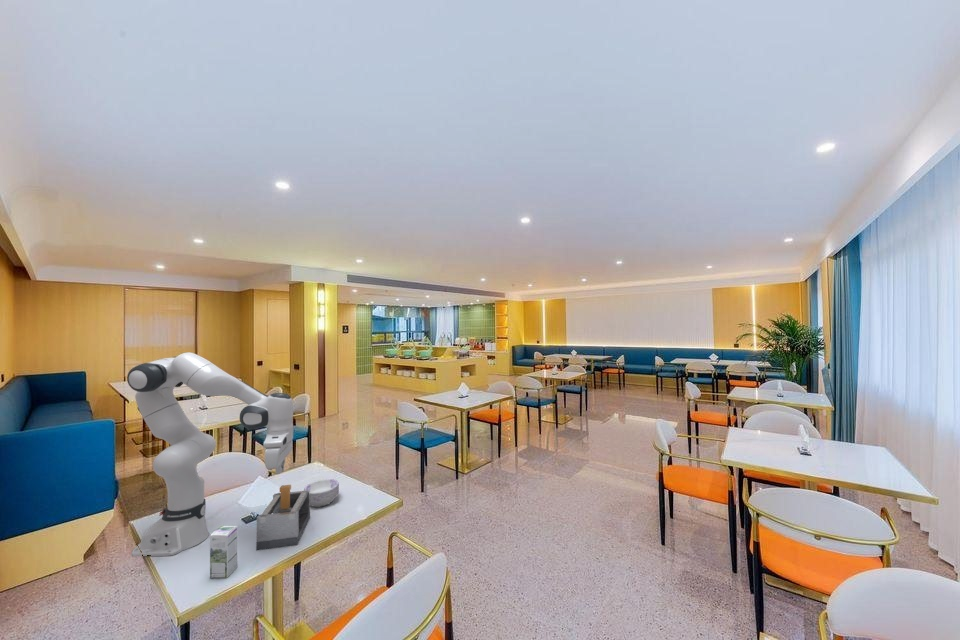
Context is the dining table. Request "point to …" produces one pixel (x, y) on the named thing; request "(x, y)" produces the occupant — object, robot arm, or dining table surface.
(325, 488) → the paper bowls
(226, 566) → the syrup box
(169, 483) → the robot arm
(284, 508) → the lever
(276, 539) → the grey storage bin
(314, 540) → the dining table surface
